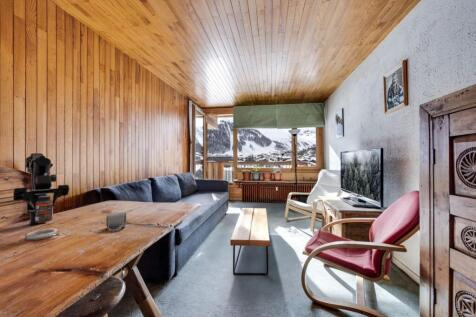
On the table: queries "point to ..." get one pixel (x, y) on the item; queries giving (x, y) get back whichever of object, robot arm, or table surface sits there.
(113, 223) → the ceramic mug
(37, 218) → the supplement bottle
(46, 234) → the ring seat
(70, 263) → the table surface
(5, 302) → the table surface
